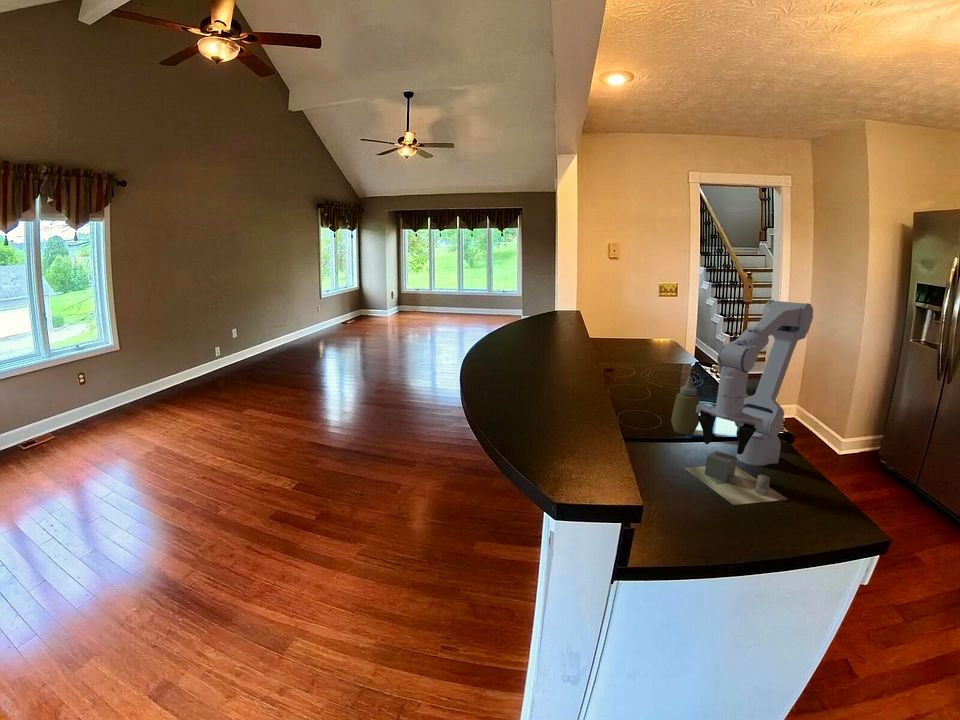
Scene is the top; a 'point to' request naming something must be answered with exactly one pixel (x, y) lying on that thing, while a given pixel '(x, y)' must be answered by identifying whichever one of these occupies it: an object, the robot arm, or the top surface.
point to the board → (740, 487)
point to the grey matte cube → (720, 466)
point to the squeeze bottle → (686, 409)
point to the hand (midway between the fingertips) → (723, 447)
